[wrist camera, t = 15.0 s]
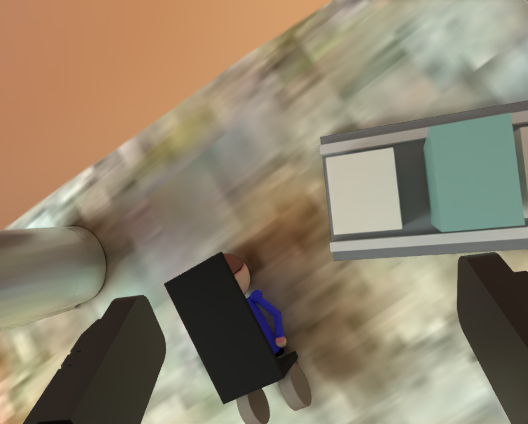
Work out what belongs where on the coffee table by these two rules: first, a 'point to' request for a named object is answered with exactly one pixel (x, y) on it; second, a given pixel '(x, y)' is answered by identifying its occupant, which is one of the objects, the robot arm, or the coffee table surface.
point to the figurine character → (237, 337)
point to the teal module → (473, 174)
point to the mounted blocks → (385, 188)
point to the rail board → (416, 193)
